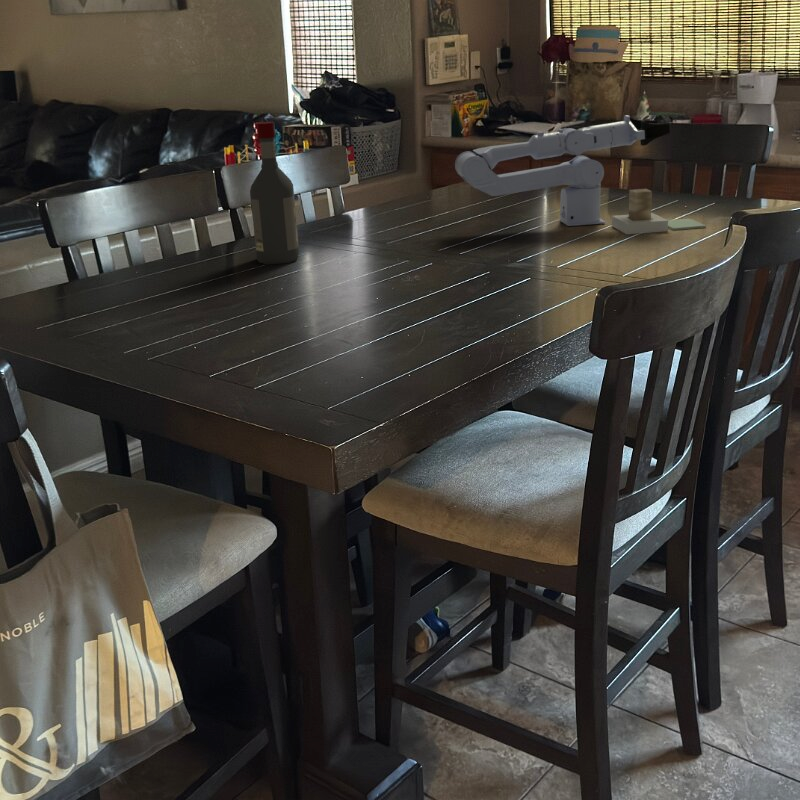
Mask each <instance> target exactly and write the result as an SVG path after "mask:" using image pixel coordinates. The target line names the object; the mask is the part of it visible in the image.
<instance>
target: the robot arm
mask: <svg viewBox="0 0 800 800" xmlns="http://www.w3.org/2000/svg"><path fill="white" fill-rule="evenodd" d="M670 129H671V127H670V124H669V123H658V121H657V120H650V119H649V120H648V119H647V120H643V119H635V118H631V116H630V115H626V114H624V116H623V120H621V121H615V122H610V123H609V122H608V123H602V124H596V125H590V126H587V127H586V126H585V127H584V126H583V127H581V128H578V129H575V128H572V127H571V128H570V127H568V128H567V127H564V128H558V129H557V131H551V132H546V133H545V132H544V131H542V130H541V131H537V132H536V134H533V135H531V137H530V138H529V139H528V141H525V142H524V141H523V142H514V143H507V144H499V145H497V144H496V145H489V146H485V147H478V148H476V149H473V150H472V151H473V152H472V151H470V150H469V151H468V150H467V151H464V152H461V153H460V154H458V155H457V157H456V159H455V162H454V168H455V171H456V173H457V175H459V177H461V178H462V180H464V182H466V183H467V184H469V185H470V187H472V188H475V189H477V190H478V191H481V192H483V193H485V194H486V195H489V196H492V197H497V196H503V195H509V194H510V195H511V194H516V193H521V192H522V193H523V192H528V191H529V192H530V191H533V190H534V191H535V190H540V189H546V188H552V187H559V186H568V187H563V188H562V189H561V191H560V199H559V200H560V202H559V203H560V204H559V205H560V209H559V211H560V212H559V213H560V214H559V219H558V220H559V221H560V222H561V223H563V224H564V225H566V226H567V227H573V226H574V227H575V226H587V225H599V224H602V225H603V224H606V221H605V220H604V219H602V218H601V189H602V187H601V186H602V185H601V182H602V181H603V179H604V176H605V169H604V166H603V164H602V163H601V162H599V161H598V160H596V159H591V158H590V157H588V156H586V155H582V154H583V153H584V152H587V151H597V150H604V149H609V148H615V147H623V146H632V145H634V143H635V142H637V141H640V146H642V147H643V146H647V145H649V144H650V143H652V141H654V140H655V139H658V138H661V137H664V136H667V135H668V134H670V133H671V132H670ZM564 154H569V155H573V156H574V155H575V157H574V158H572V159H571V160H569V161H564V162H561V163H560V164H557V165H550V166H543V167H537V168H531V169H524V170H518V171H514V172H507V173H502V174H497V173H495V172H494V171H493V169H494V168H495V167H496V165H498V163H499V162H502V161H508V160H512V159H517V158H521V157H528V156H530V157H532V158H533V159H534V160H537V161H538V160H542V159H548V158H554V157H561V156H562V155H564Z"/></svg>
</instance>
